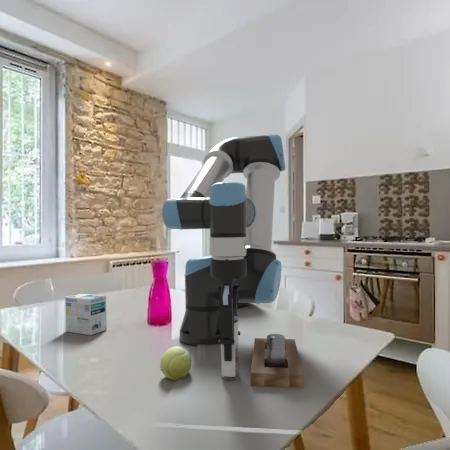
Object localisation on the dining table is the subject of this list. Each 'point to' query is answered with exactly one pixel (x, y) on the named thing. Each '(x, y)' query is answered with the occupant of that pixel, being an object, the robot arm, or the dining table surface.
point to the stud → (235, 351)
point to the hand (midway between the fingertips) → (229, 371)
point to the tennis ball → (175, 363)
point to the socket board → (276, 376)
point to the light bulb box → (86, 314)
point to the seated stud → (276, 351)
